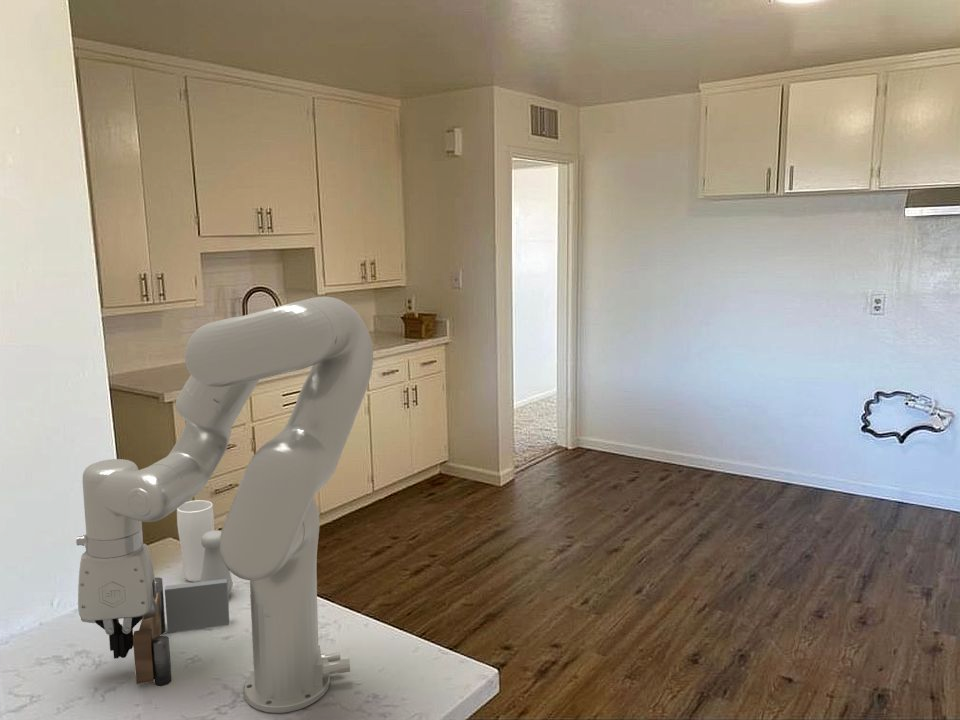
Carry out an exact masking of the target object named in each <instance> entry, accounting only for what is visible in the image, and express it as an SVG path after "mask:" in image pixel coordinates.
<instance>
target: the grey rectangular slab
mask: <svg viewBox="0 0 960 720" xmlns="http://www.w3.org/2000/svg"><path fill="white" fill-rule="evenodd" d="M164 597H165V599H164V600H165V601H164V603H165V611H166V613H165V614H166V616H165V617H166V631H167V634H170V633H179V632H187V631H193V630H194V631H195V630H201V629H209V628H216V627H224V626H229V625H230V609H229V608H230V607H229V596H228V585H227V579H220V580H211V581H203V582H201V581H200V582H187V583H180V584H179V583H178V584H170V585H165V588H164Z"/></svg>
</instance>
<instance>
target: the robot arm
mask: <svg viewBox="0 0 960 720" xmlns="http://www.w3.org/2000/svg"><path fill="white" fill-rule="evenodd" d="M369 331H370V330H368V327H367V325H366V323H365V321H364V320H363V319H362V317H361V316H360V314H359V313H358V312H357V311H356V310H355V309H354V308H353V306H351V305H349V304H348V303H347V302H345V301H343V300H341V299H339V298H337V297H332V296H315V297H311V298H307V299H302V300H298V301H294V302H290V303H287V304H286V303H285V304H283V305H277V306H275V307H271V308H268V309H267V308H266V309H265V310H264V309H263V310H261V311H257V312H253V313H249V314H245V315H241V316H234V317H233V316H232V317H229V318H224V319H221V320H216V321H211V322H208V323H206V324H203V325H202V326H201V327H199V328H197V329H196V330H195V331H194V332H193V333H192V335H191V336H190V337H189V339H188V340H187V343H186V346H185V349H184V363H185V366H186V369H187V372H189V378H188V379H187V380H186V382H185V384H184V385H183V387H182V388H181V391H180V392H179V393H178V395H177V398H176V401H175V408H176V412H177V413H178V414H179V416H180V417H181V418H182V419H183V420H184V421H185V424H184V428H183V429H182V432H181V434H180V435H179V437H178V438H177V440H176V442H175V445H174V446H173V448H172V449H171V450H170V452H169V454H167V456H166V457H163V458H162V459H160V460H158V461H155V462H154V463H152V464H151V465H148V466H147V467H144V468H141V469H139V467H138V465H137V464H136V463H135V462H134V461H131V460H129V459H123V458H122V459H121V458H113V459H104V460H99V461H98V462H93V463H91V464H90V465H88V466H87V467H86V468H84V470H83V473H82V490H83V491H82V493H83V495H82V496H83V507H84V521H85V534H83V535H81V536H78V535H77V537H76V541H75V543H76V544H75V545H77V546H82V547H84V548H85V552H84V553H82V555H81V556H80V557H81V558H80V562H79V571H78V589H77V590H78V591H77V592H78V593H77V606H78V615H79V618H80V620H81V622H82V623H90V624H96V625H98V626H99V627H100V628H101V629H103V630H104V631H105V633H106V635H108V636H109V639H108V640H109V649H110V652H113V659H114V660H115V659H119V658H121V659H126V658H127V656H128V653H129V652H130V650H132V649H134V647H133V635H134V630H133V629H134V628H135V626H137V625H138V624H139V623H141V621H142V620H143V619H148V618H151V617H154V616H156V614H157V611H158V608H157V605H156V603H155V599H156V584H155V578H156V577H155V571H154V567H153V566H154V565H153V561H152V556H151V554H150V550H149V547H148V544H147V543H144V538H143V523H154V522H158V521H161V520H162V519H165V518H166V517H168V516H169V515H170V514H172V513H173V512H175V511H177V508H178V507H179V506H181V505H182V504H184V503H185V502H189V500H191V499H193V498H195V497H196V496H197V495H198V494H199V493H200V492H201V491H202V490H203V488H205V486H206V485H207V483H209V480H210V478H211V477H212V475H213V474H214V473H215V471H216V469H217V467H218V466H219V464H220V463H221V461H222V459H223V457H224V455H225V454H226V453H225V452H226V451H227V449H228V447H229V443H230V438H231V435H232V427H233V425H234V424H235V421H236V420H237V419H238V418H239V415H240V413H241V411H242V409H243V408H244V406H245V405H246V403H247V401H248V400H249V398H250V396H251V395H252V393H253V391H254V390H255V388H256V386H257V385H258V384H259V381H260V380H263V379H267V378H271V377H274V376H280V375H282V374H287V373H292V372H295V371H300V370H304V369H307V368H309V367H310V368H311V369H310V371H309V374H308V376H307V378H306V379H305V381H304V382H303V385H302V387H301V389H300V391H299V393H298V396H297V400H296V401H295V402H296V403H295V405H294V407H293V410H292V412H291V415H290V416H289V419H288V421H287V423H286V425H285V426H284V428H283V429H282V430H281V431H280V432H279V433H278V434H277V435H275V436H274V437H272V438H271V439H270V440H268V441H267V442H266V443H264V444H263V445H261V447H260V448H259V449H257V450H256V452H255V453H254V454H253V456H252V458H251V459H250V461H249V463H247V466H246V468H245V470H244V473H243V475H242V476H241V480H240V482H239V485H238V487H237V490H236V492H235V495H234V498H233V500H232V503H231V505H230V507H229V511H228V513H227V515H226V518H225V521H224V523H223V525H222V529H221V531H222V532H221V536H220V552H221V556H222V559H223V562H224V564H225V565H226V567H227V568H228V569H229V572H231V574H232V575H234V576H236V577H237V578H239V579H242V580H245V581H249V586H250V591H249V592H250V595H249V596H250V613H251V614H250V616H251V636H252V638H251V639H252V657H253V671H252V672H251V674H249V676H248V677H247V678H246V680H245V682H244V684H243V694H244V695H243V696H244V699H245V701H246V703H248V704H249V705H250V706H251V707H252V708H254V709H256V710H258V711H262V712H266V713H276V714H277V713H280V714H281V713H290V712H293V711H297V710H301V709H304V708H306V707H308V706H310V705H312V704H314V703H315V702H317V701H319V700H320V699H321V698H323V696H324V695H325V694H326V692H327V691H328V690H329V686H330V684H331V677H330V675H334V674H343V673H350V672H351V660H350V658H343V659H341V652H335V653H330V654H325V653H321V651H322V650H321V645H319V622H318V621H319V619H318V618H319V617H318V594H317V593H318V579H317V575H318V572H317V570H318V569H317V560H318V558H317V557H318V545H319V534H320V511H319V507H318V504H317V501H316V500H315V498H314V497H315V496H316V495H317V494H318V493H319V492H320V491H321V490H322V489H323V488H324V486H325V485H326V484H327V483H329V481H330V480H331V478H332V477H333V475H334V474H335V472H336V470H337V468H338V465H339V461H340V458H341V456H342V453H343V450H344V448H345V445H346V443H347V441H348V438H349V436H350V433H351V431H352V429H353V425H354V422H355V420H356V418H357V414H358V412H359V410H360V407H361V404H362V402H363V400H364V397H365V395H366V393H367V389H368V386H369V384H370V379H371V375H372V371H373V365H374V349H373V341H372V337H371V334H370V332H369ZM119 619H123V620H122V624H121V623H120V621H119Z"/></svg>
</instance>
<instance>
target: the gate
mask: <svg viewBox="0 0 960 720" xmlns="http://www.w3.org/2000/svg"><path fill="white" fill-rule="evenodd" d="M155 603H156V605H157V608H158V611H157V614H156V616H154V617H151V618H148V619H143V620H141V621H140V625H139V628H138V629H139V630H133V659H134V671H135V672H134V673H135V682H136V683H135V685H139V684H146V683H147V684H149V683H155V681H154V667H153V654H152V640H153V639H154V638H155V637H158V636H162V635H161V631H162V630H161V616H160V601H159V593H156V599H155Z"/></svg>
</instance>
